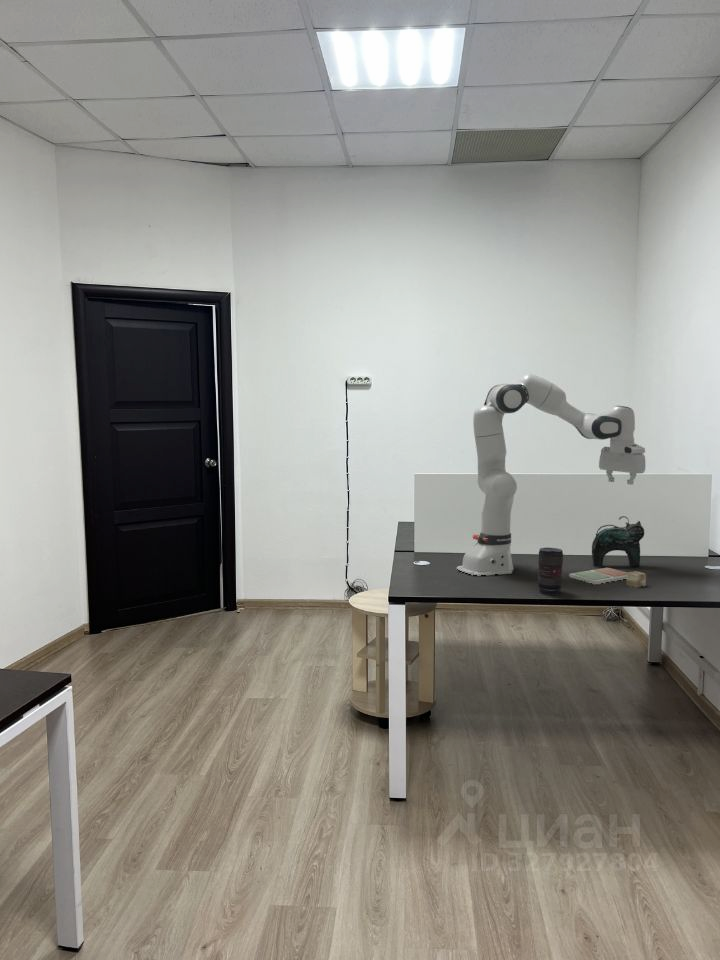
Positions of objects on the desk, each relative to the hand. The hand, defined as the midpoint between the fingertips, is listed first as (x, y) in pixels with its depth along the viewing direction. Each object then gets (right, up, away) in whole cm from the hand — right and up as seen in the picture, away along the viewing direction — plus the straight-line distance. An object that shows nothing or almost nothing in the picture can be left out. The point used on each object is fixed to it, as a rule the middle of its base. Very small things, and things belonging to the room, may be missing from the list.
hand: (620, 483), depth 284 cm
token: (-4, -36, -25) cm, 44 cm away
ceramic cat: (0, -33, +4) cm, 33 cm away
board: (-12, -35, -14) cm, 39 cm away
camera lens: (-37, -38, -34) cm, 62 cm away
